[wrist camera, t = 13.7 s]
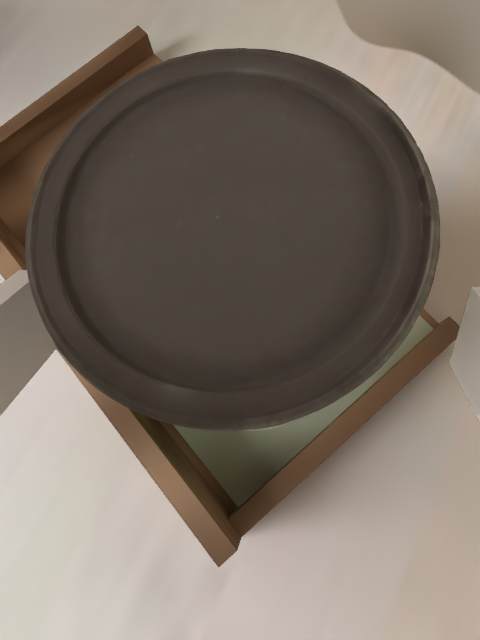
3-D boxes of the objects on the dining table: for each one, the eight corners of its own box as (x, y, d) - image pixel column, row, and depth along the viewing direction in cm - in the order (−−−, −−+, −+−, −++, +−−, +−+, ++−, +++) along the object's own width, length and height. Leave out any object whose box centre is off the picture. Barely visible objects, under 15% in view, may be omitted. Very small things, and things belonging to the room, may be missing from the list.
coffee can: (212, 468, 23) (116, 519, 9) (134, 302, 25) (-29, 149, 12) (384, 375, 23) (538, 293, 10) (290, 222, 26) (305, -13, 12)
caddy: (-34, 193, 30) (-94, 147, 25) (148, 56, 31) (125, -12, 27) (231, 539, 23) (218, 567, 18) (446, 340, 25) (487, 318, 20)
